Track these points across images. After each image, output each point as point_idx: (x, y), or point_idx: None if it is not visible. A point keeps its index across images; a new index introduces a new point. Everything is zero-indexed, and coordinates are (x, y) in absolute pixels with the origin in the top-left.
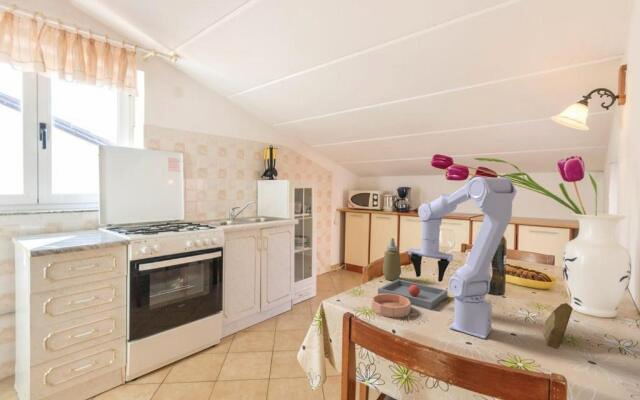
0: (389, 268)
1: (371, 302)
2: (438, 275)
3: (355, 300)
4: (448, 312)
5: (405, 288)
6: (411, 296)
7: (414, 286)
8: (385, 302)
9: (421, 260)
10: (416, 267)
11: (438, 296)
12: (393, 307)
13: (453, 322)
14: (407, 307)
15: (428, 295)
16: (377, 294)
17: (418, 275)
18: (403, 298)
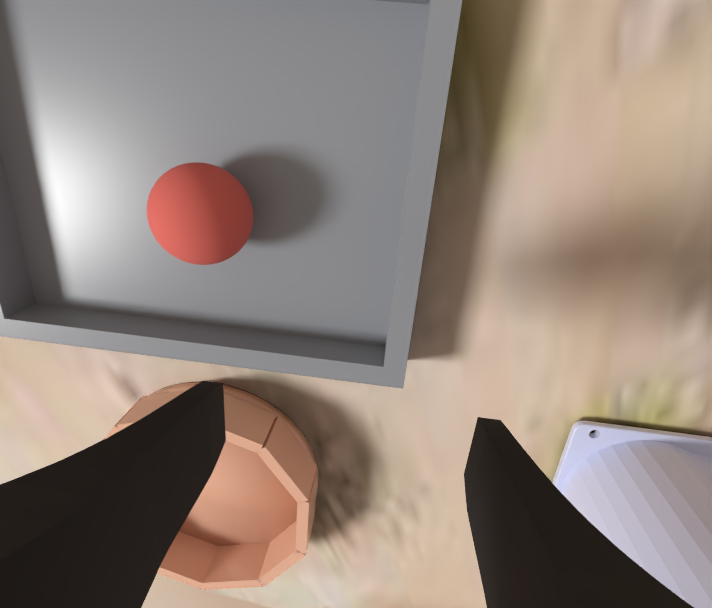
0: None
1: None
2: (477, 553)
3: (17, 450)
4: (512, 339)
5: (69, 50)
6: (248, 353)
7: (193, 246)
8: None
9: (77, 513)
10: (153, 563)
11: (422, 230)
12: (262, 583)
13: (557, 486)
14: (309, 522)
15: (309, 114)
16: None
17: (218, 444)
18: (233, 439)
